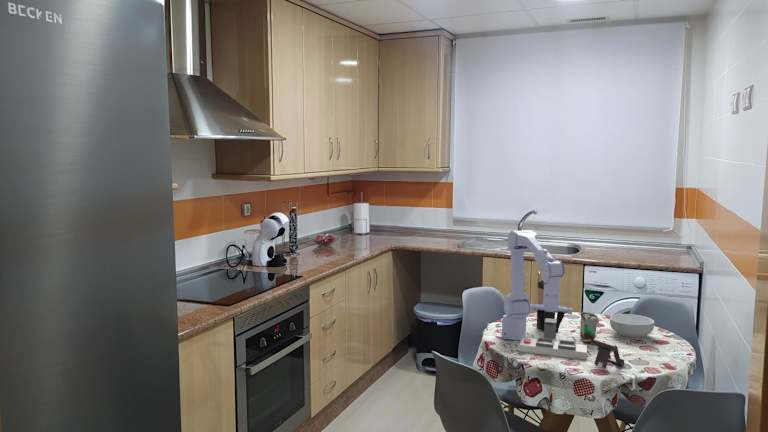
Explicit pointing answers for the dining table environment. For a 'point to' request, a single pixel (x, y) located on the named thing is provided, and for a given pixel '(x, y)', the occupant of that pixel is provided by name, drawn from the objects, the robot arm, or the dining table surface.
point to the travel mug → (540, 301)
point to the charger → (550, 328)
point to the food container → (588, 327)
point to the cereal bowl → (631, 325)
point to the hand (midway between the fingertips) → (550, 331)
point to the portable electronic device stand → (607, 354)
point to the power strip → (553, 347)
